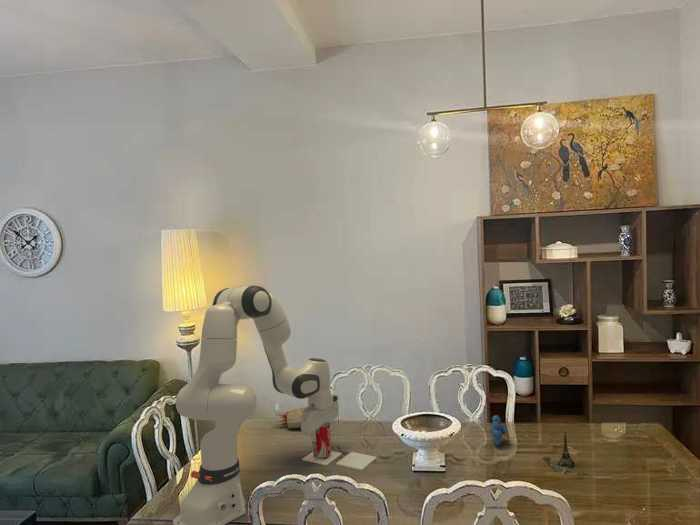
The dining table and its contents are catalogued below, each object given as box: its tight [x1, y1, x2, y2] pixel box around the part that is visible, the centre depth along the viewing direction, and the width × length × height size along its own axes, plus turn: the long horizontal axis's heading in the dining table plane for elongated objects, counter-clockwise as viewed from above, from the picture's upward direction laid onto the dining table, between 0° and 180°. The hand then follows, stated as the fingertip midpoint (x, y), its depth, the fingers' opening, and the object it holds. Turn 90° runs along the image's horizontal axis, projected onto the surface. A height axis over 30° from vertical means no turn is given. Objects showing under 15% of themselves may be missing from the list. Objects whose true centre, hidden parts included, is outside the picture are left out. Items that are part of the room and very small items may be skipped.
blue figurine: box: [489, 414, 509, 446], centre depth 195 cm, size 12×7×12 cm, turn 164°
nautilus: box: [270, 407, 306, 429], centre depth 226 cm, size 8×22×15 cm
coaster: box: [335, 451, 378, 471], centre depth 187 cm, size 11×11×1 cm
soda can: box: [311, 423, 332, 458], centre depth 192 cm, size 7×7×12 cm
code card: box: [301, 450, 343, 466], centre depth 192 cm, size 11×11×1 cm
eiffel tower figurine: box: [541, 431, 589, 476], centre depth 176 cm, size 15×10×13 cm
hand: (321, 436), depth 192 cm, fingers closed on soda can, 7 cm apart
